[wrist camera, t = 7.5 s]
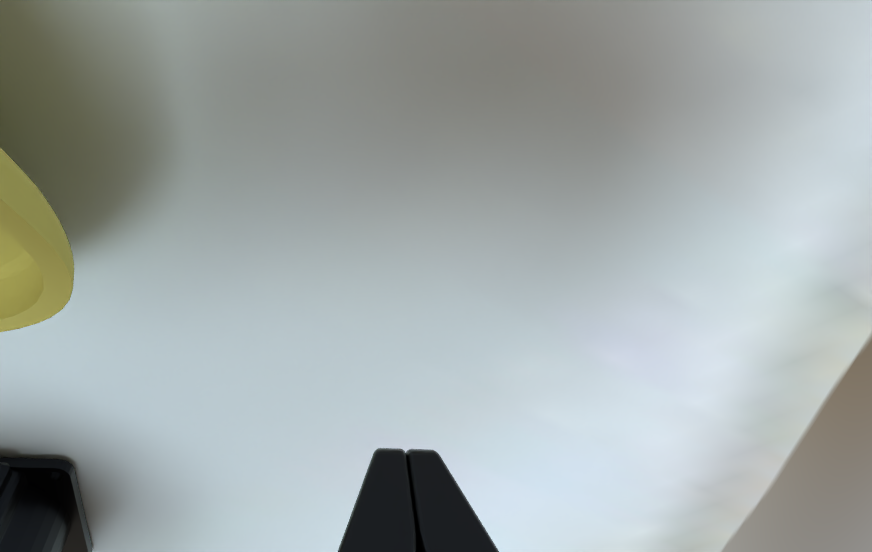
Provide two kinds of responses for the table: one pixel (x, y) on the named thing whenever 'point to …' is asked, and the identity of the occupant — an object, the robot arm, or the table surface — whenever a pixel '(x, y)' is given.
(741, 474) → the table surface
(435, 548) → the robot arm
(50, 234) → the yellow long curved piece
